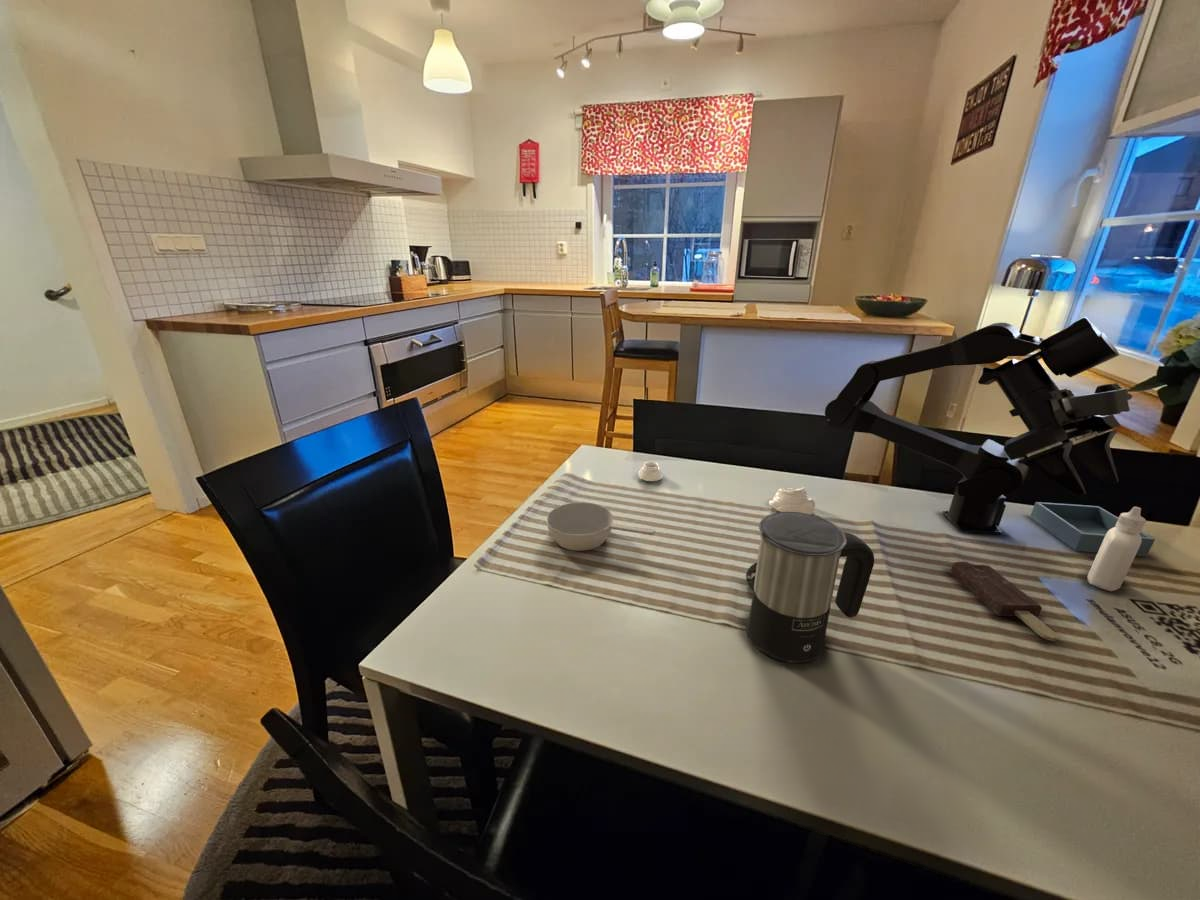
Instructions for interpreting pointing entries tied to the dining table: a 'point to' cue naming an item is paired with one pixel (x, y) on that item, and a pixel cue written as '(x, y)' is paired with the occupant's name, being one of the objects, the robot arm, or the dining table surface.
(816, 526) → the milk frother
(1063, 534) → the blue-grey tray
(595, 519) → the small pan
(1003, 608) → the ice cream bar
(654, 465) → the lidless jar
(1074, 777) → the dining table surface
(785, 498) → the whipped cream
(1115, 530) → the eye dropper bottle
